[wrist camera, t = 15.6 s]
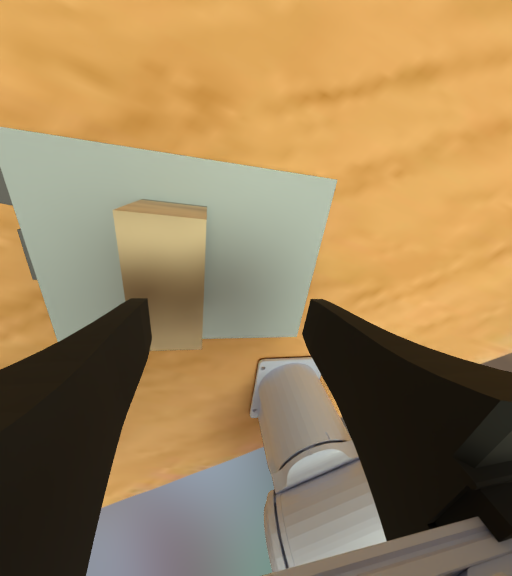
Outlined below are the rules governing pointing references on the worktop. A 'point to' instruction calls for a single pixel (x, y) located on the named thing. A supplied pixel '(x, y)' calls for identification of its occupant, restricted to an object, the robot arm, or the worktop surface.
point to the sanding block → (165, 267)
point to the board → (170, 188)
